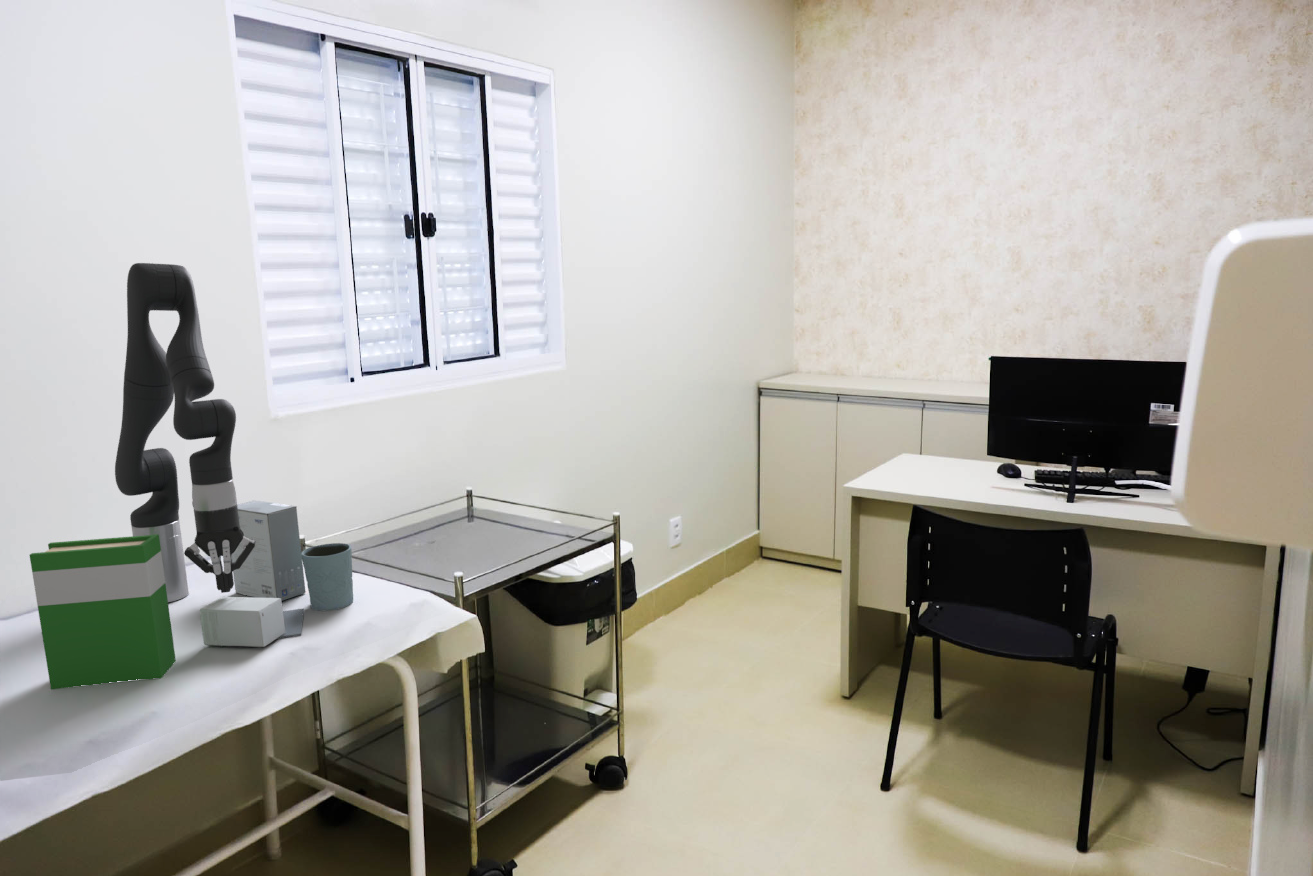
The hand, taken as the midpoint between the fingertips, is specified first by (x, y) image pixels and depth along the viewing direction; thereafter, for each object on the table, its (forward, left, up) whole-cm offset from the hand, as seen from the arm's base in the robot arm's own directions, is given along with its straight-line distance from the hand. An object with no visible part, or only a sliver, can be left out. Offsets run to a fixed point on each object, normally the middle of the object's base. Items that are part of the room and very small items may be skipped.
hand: (225, 591), depth 176 cm
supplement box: (+2, -3, -5) cm, 6 cm away
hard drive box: (-24, +5, -9) cm, 26 cm away
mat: (-2, +6, -9) cm, 11 cm away
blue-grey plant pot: (-11, +18, -9) cm, 23 cm away
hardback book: (+12, -18, -9) cm, 23 cm away
